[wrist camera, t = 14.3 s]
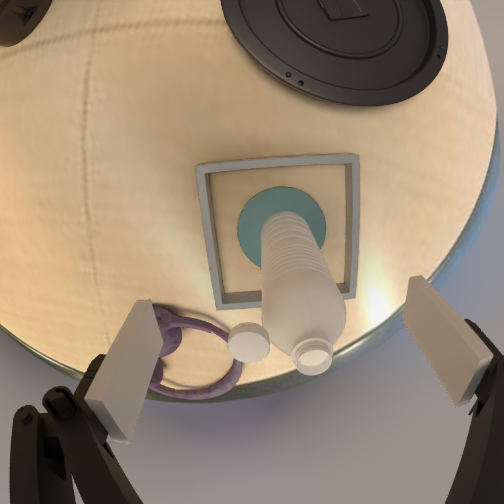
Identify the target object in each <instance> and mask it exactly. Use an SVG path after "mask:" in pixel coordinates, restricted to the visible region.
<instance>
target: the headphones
mask: <svg viewBox="0 0 504 504" xmlns="http://www.w3.org/2000/svg"><path fill="white" fill-rule="evenodd" d="M153 310H154V313H155V316H156V320H157V323H158V326H159V330H160V333H161V336H162V339H163V342H164V343H163V346H162V348H161V351H160V354H159V357H158V360H157V363H156V366H155V369H154V372H153V375H152V378H151V381H150V384H149V387H148V389H152V390H154V391H156V392H159V393H161V394H164V395H167V396H171V397H178V398H184V399H207V398H212V397H216V396H219V395H222V394H224V393H226V392H228V391H229V390H231V389H232V388H233V387H234V386H235V384H236V383H237V382H238V380H239V378H240V376H241V372H242V362H241V361H238V360H236V359H235V358H234V363H233V366H232V368H231V369H230V371H229V373H228V374H227V375H226V376H225V377H224V378H223V379H222V380H221V381H220V382H218V383H217V384H215V385H213V386H211V387H209V388H206V389H203V390H199V391H187V392H186V391H175V389H173V388H169V387H166V386H164V385H161V384H160V383H161V381H162V379H163V368H162V365H161V362H160V360H159V358H160V357H164V356H167V355H169V354H171V353H173V352H174V351H175V350H176V349H177V348H178V347H179V345H180V343H181V340H182V331H181V329H180V327H187V328H194V329H199V330H202V331H206V332H208V333H211V332H213V333H215V334H216V335H218V336H220V337H221V338H222V339H224V340H225V341H226V342H227V343H228V338H229V334H228V333H227V332H225V331H224V330H222V329H220V328H218V327H216V326H214V325H212V324H211V323H208V322H206V321H202V320H199V319H195V318H189V317H181V316H176V315H173V314H171V313H170V312H169V311H167V310H166V309H164V308H161V307H153Z"/></svg>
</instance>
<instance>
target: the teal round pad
mask: <svg viewBox="0 0 504 504" xmlns="http://www.w3.org/2000/svg"><path fill="white" fill-rule="evenodd" d="M280 211H291V212H294V213H297V214H299V215H300V216H301V217H302V218H303V219H304V220H305V221H306V223H307V224H308V226H309V229H310V231H311V233H312V235H313V237H314V239H315V241H316V243H317V245H318V247H319V249H321V247H322V245H323V242H324V239H325V234H326V223H325V218H324V215H323V212H322V210H321V208H320V207H319V205H318V204H317V203H316V201H315V200H314V199H313V198H312V197H310V196H309V195H308V194H306V193H305V192H303V191H301V190H298V189H295V188H291V187H274V188H270V189H267V190H264V191H262V192H260V193H258V194H257V195H255V196H254V197H253V198H252V199H251V200H250V201H249V202H248V203H247V204H246V206H245V207H244V209H243V210H242V212H241V215H240V217H239V222H238V229H237V230H238V239H239V243H240V246H241V248H242V250H243V252H244V253H245V255H246V256H247V257H248V258H249V259H250V260H251V261H252V262H253V263H255V264H256V265H258V266H259V267H261V230H262V227H263V224H264V223H265V221H266V220H267V219H268V218H269V217H270V216H271V215H273V214H274V213H277V212H280Z"/></svg>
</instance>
